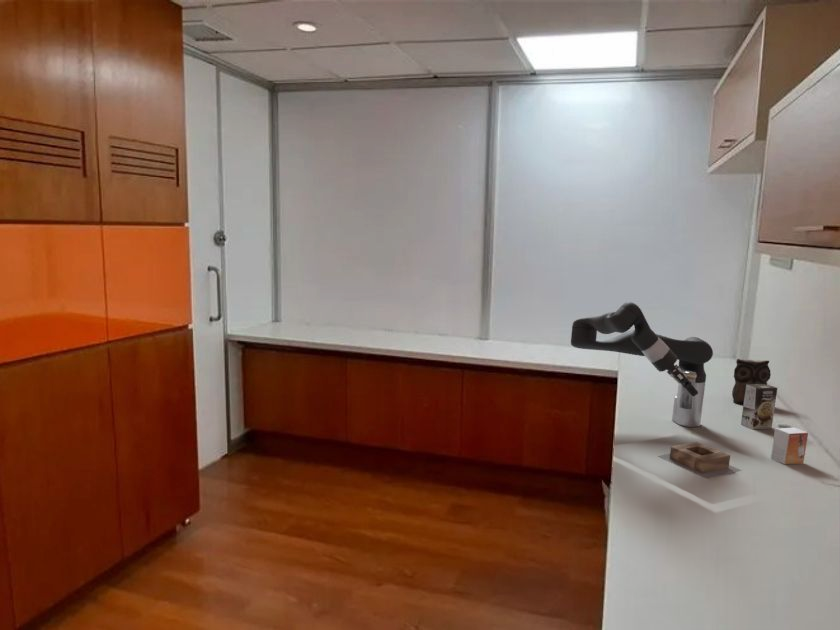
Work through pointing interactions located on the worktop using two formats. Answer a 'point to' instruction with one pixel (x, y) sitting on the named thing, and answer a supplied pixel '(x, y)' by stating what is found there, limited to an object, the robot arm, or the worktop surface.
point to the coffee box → (759, 406)
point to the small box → (789, 445)
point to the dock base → (705, 475)
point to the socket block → (699, 457)
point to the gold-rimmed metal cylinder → (685, 396)
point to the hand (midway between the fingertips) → (693, 392)
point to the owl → (748, 377)
